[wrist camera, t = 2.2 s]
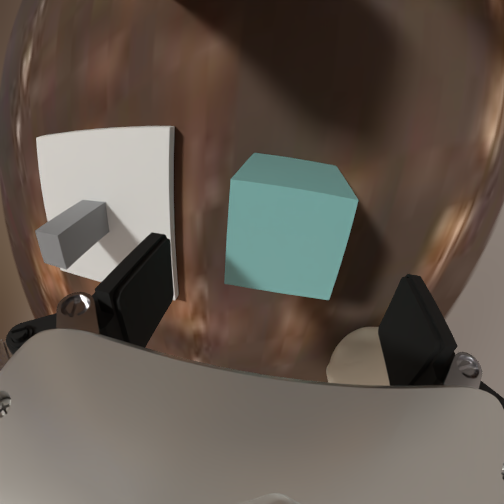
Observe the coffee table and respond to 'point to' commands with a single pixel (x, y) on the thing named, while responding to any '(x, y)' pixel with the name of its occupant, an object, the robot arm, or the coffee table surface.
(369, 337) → the off-white rounded piece
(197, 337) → the coffee table surface
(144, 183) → the white square plate
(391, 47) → the coffee table surface
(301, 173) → the teal block
